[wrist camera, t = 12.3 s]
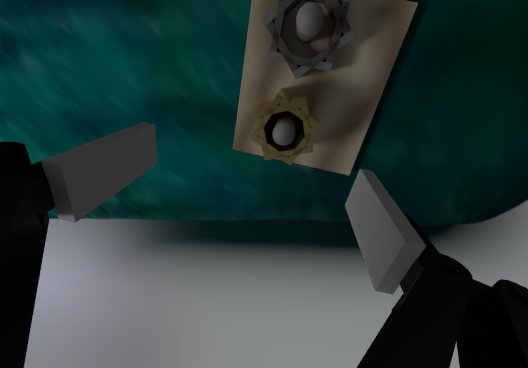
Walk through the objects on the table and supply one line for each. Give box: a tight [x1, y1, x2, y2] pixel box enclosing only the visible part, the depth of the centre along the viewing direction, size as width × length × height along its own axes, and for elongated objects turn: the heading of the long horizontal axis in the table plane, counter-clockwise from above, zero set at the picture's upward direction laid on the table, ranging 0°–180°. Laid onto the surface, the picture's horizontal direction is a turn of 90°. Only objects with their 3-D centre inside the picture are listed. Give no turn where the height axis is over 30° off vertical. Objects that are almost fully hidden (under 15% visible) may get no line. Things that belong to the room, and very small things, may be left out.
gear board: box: [233, 0, 418, 175], centre depth 27 cm, size 18×22×10 cm
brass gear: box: [249, 88, 321, 165], centre depth 29 cm, size 8×8×7 cm
